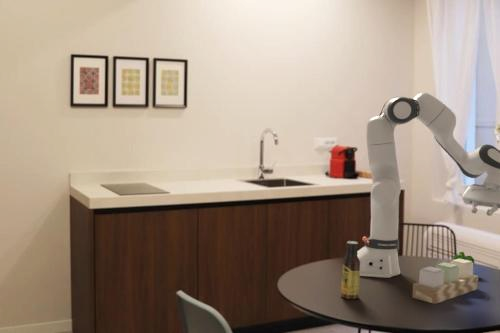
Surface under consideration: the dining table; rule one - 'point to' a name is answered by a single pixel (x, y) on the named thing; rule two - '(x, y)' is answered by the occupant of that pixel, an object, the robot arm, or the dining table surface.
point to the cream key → (464, 267)
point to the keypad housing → (445, 290)
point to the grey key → (431, 277)
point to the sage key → (449, 272)
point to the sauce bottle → (350, 272)
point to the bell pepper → (464, 257)
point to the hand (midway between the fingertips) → (480, 213)
